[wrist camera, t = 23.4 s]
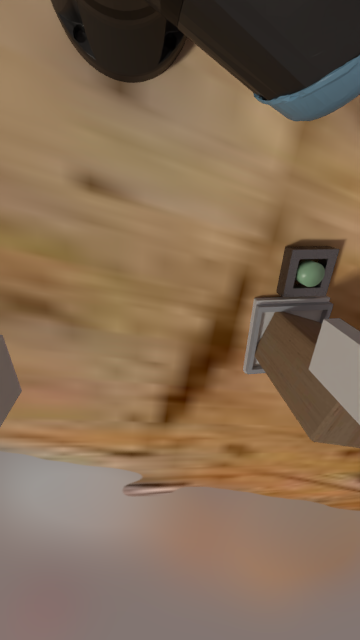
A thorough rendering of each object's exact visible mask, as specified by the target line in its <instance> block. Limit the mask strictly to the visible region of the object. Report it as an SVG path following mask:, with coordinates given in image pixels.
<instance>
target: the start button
mask: <svg viewBox="0 0 360 640" xmlns="http://www.w3.org/2000/svg"><path fill="white" fill-rule="evenodd" d="M324 275H325V269H324V267H323V266H322V265H321V264H319V263H317V262H314V261H312V260H303V261H301V262H300V263H299V264H298V268H297V273H296V277H295V279H296V281H298V282H300V283H301V284H303V285H305V286H307V287H313V286H316V285H317V284H319V283H320V282H321V281H322V279H323V277H324Z"/></svg>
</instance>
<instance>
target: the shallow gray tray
mask: <svg viewBox="0 0 360 640" xmlns="http://www.w3.org/2000/svg"><path fill="white" fill-rule="evenodd" d="M329 301H330V297H328V296H301V297H272V298H254V303H253V309H252V316H251V322H250V329H249V335H248V341H247V348H246V354H245V360H244V367H243V371H244V372H245V373H247V374H257V373H266V372H265V371H264V369H263V368H262V367H261V365H260V364H259V362H258V361H257V359H256V358H255V350H256V347H257V345H258V343H259V341H260V339H261V337H262V335H263V333H264V332H265V330H266V328H267V326H268V324H269V322H270V320H271V319H272V317H273V315H274V313H275V312H286V313H290V314H293V315H297V316H300V317H304V318H307V319H310V320H314V321H317V322H320V323H321V324H322V323H323V320H324V319H329V317H330V314H331V311H332V307H333V304H332V303H330V302H329Z"/></svg>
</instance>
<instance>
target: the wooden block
mask: <svg viewBox="0 0 360 640" xmlns="http://www.w3.org/2000/svg"><path fill="white" fill-rule="evenodd" d="M321 326H322V324H321V323H320V322H317V321H314V320H310V319H307V318H304V317H300V316H297V315H293V314H290V313H286V312H275V313H274V315H273V317H272V319H271V320H270V322H269V324H268V326H267V328H266V330H265V332H264V333H263V335H262V337H261V339H260V341H259V343H258V345H257V347H256V350H255V358H256V359H257V361H258V362H259V364H260V365H261V367H262V368H263V369H264V371H265V372H266V374H267V375H268V377H269V378H270V380H271V381H272V383H273V384H274V386H275V387H276V389H277V390H278V392H279V393H280V395H281V396H282V398H283V399H284V401H285V402H286V404H287V405H288V407H289V408H290V410H291V411H292V413H293V414H294V416H295V417H296V419H297V420H298V422H299V423H300V425H301V426H302V428H303V429H304V431H305V432H306V434H307V435H308V437H309V438H310V439H311V440H312V441H314V442H320V443H327V444H334V445H342V446H349V447H356V448H360V425H359V424H358V423H357V422H356V420H355V419H354V418H353V417H352V416H351V415H350V414H349V413H348V412H347V411H346V410H345V408H344V407H343V406H342V405H341V404H340V403H339V402H338V401H337V400H336V399H335V398H334V397H333V395H332V394H331V393H330V392H329V391H328V390H327V389H326V388H325V387H324V386H323V385H322V383H321V382H320V381H319V380H318V379H317V378H316V377H315V376H314V375H313V374H312V373H311V372H310V370H309V366H310V363H311V359H312V356H313V353H314V349H315V346H316V343H317V339H318V336H319V333H320V330H321Z"/></svg>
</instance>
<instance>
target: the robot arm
mask: <svg viewBox="0 0 360 640" xmlns="http://www.w3.org/2000/svg"><path fill="white" fill-rule="evenodd" d="M51 2H52V4H53V7H54V10H55V12H56V14H57V16H58V18H59V20H60V22H61V24H62V27H63V28H64V30H65V32H66V34H67V36H68V38H69V39H70V41H71V42H72V44H73V45H74V47H75V48H76V50H77V51H78V52H79V53H80V55H81V56H82V57H83V58H84V59H85V60H86V61H87V62H88V63H89V64H90V65H91V66H93V67H94V68H95V69H96V70H98V71H99V72H101V73H102V74H104V75H106V76H108V77H110V78H112V79H115V80H118V81H122V82H131V83H135V82H143V81H146V80H149V79H152V78H154V77H156V76H158V75H159V74H161V73H162V72H163V71H165V70H166V69H167V68H168V67H169V66H170V65H171V64H172V63H173V61H174V60H175V59H176V57H177V56H178V54H179V53H180V51H181V49H182V47H183V45H184V43H185V41H186V38H187V37H188V38H189V39H190V40H191V41H193V42H194V43H195V44H196V45H197V46H198V47H200V48H201V49H202V50H203V51H204V52H206V53H207V54H208V55H209V56H210V57H212V58H213V59H214V60H215V61H216V62H218V63H219V64H220V65H221V66H222V67H224V68H225V69H226V70H227V71H228V72H229V73H231V74H232V75H233V76H234V77H235V78H237V79H238V80H239V81H240V82H241V83H243V84H244V85H245V86H246V87H247V88H249V89H250V90H251V91H252V92H253V93H254V97H255V98H256V99H257V100H258V101H260V102H261V103H264V104H268V105H270V106H271V107H273V108H274V109H275V110H277V111H278V112H280V113H281V114H282V115H284V116H285V117H286V118H288V119H290V120H293V121H312V120H315V119H318V118H321V117H323V116H326V115H328V114H330V113H332V112H334V111H336V110H337V109H339V108H341V107H342V106H344V105H346V104H347V103H349V102H350V101H351V100H353V99H354V98H356V97H357V96H358V95H360V0H51ZM309 370H310V372H311V373H312V374H313V375H314V376H315V377H316V378H317V379H318V380H319V381H320V382H321V383H322V385H323V386H324V387H325V388H326V389H327V390H328V391H329V392H330V393H331V394H332V395H333V397H334V398H335V399H336V400H337V401H338V402H339V403H340V404H341V405H342V406H343V407H344V408H345V410H346V411H347V412H348V413H349V414H350V415H351V416H352V417H353V418H354V419H355V420H356V422H357V423H358V424H359V425H360V331H358V330H357V329H355V328H354V327H352V326H351V325H349V324H348V323H346V322H345V321H343V320H342V319H340V318H333V319H324V320H323V323H322V326H321V330H320V333H319V336H318V339H317V343H316V346H315V349H314V353H313V356H312V359H311V363H310V366H309ZM21 391H22V390H21V387H20V384H19V381H18V378H17V375H16V373H15V370H14V367H13V364H12V361H11V358H10V355H9V352H8V349H7V347H6V344H5V341H4V338H3V335H0V427H1V425H2V423H3V422H4V420H5V418H6V417H7V415H8V413H9V411H10V410H11V408H12V406H13V405H14V403H15V401H16V400H17V398H18V396H19V395H20V393H21Z"/></svg>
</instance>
